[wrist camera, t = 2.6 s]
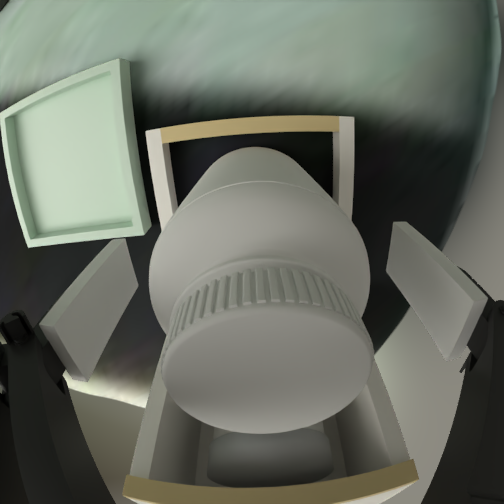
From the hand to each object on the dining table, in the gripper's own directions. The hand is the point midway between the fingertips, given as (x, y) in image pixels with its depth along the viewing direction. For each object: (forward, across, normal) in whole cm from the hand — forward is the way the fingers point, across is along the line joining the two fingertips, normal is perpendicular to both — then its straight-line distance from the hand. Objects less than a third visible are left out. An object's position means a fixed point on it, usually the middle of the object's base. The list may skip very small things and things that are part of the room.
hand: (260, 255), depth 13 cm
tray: (+7, -14, +5) cm, 17 cm away
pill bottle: (+8, 0, 0) cm, 8 cm away
